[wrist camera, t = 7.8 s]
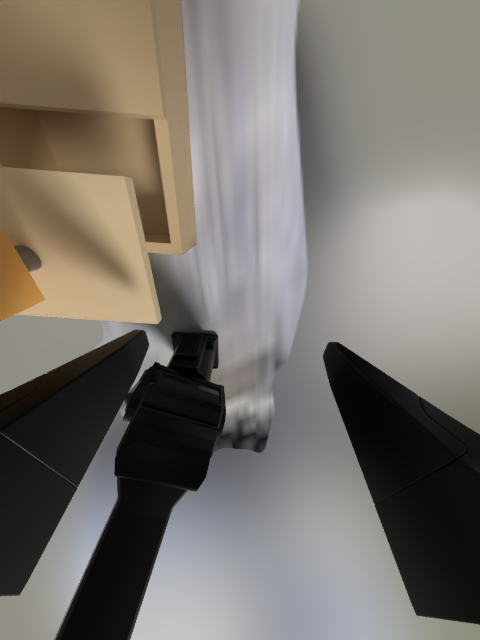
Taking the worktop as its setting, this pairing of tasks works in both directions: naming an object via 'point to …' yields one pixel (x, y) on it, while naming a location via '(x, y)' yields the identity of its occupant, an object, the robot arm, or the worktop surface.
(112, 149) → the carton
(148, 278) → the pull drawer
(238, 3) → the worktop surface
